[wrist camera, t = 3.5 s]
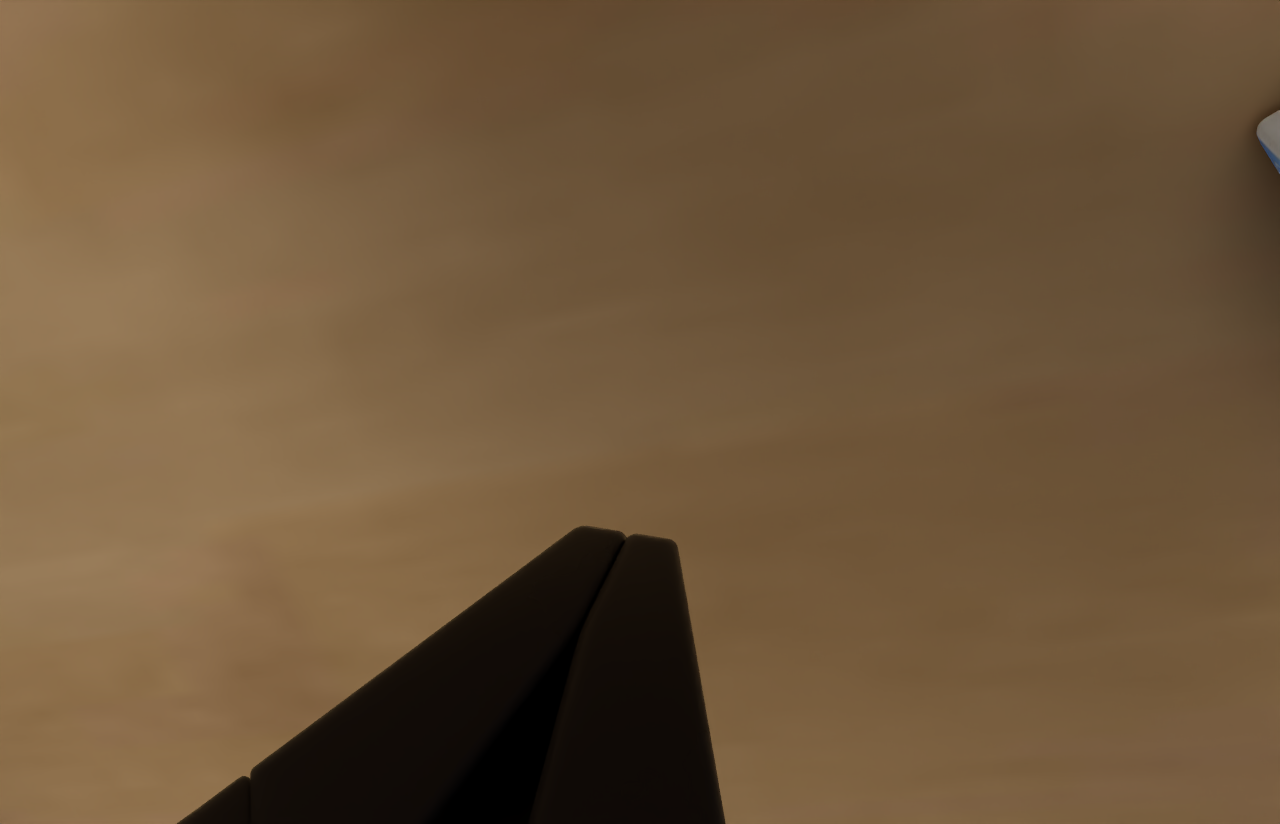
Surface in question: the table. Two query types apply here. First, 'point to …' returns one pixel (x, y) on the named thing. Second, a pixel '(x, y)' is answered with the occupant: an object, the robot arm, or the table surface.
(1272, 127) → the medicine box
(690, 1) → the table surface
